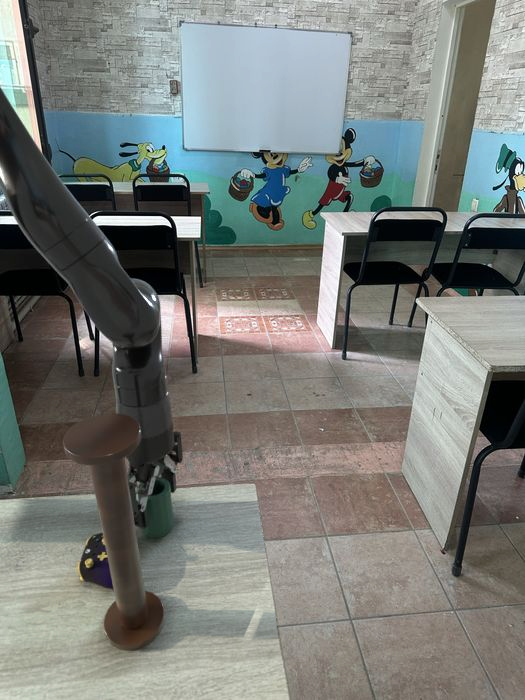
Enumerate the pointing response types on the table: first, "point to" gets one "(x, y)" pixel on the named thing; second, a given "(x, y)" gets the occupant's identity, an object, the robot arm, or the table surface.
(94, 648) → the table surface
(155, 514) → the jar
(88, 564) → the gaming controller
